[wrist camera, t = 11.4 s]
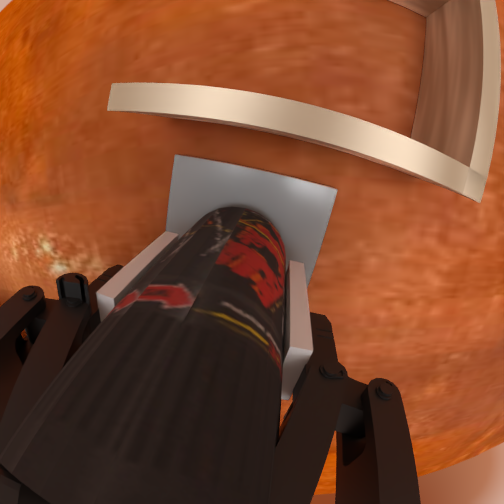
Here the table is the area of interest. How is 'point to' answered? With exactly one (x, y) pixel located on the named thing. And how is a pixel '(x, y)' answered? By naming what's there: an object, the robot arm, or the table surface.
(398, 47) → the table surface
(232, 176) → the mat
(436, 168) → the bay
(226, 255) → the deodorant
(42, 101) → the table surface
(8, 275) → the table surface
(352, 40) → the table surface
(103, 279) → the robot arm
